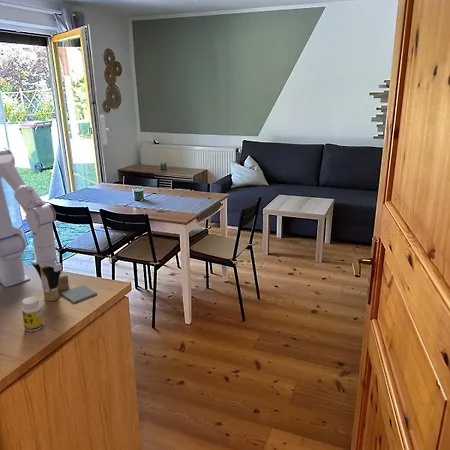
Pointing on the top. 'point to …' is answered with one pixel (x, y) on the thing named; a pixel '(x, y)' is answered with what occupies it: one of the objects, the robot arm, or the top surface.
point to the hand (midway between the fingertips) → (50, 285)
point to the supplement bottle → (32, 314)
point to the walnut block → (63, 282)
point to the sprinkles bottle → (48, 293)
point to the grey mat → (78, 293)
